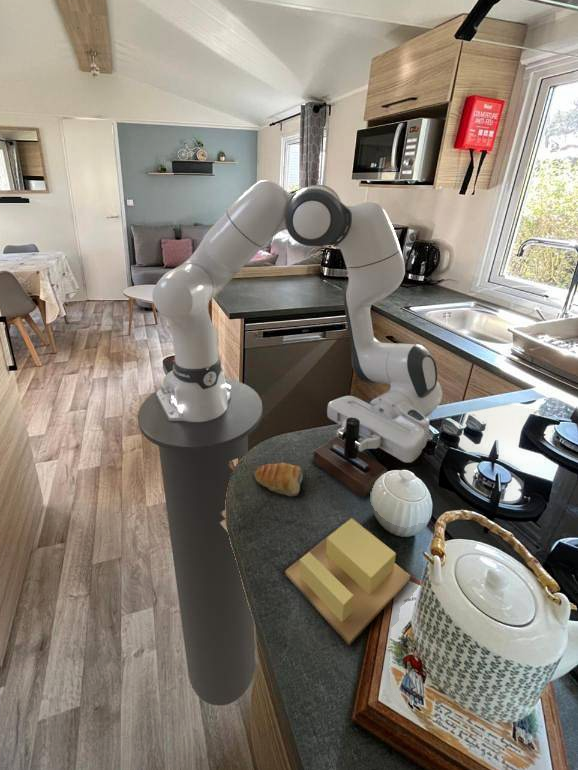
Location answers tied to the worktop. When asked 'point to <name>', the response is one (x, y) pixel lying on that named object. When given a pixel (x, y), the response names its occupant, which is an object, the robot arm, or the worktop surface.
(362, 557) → the butter
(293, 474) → the pastry
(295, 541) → the worktop surface
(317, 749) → the worktop surface
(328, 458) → the knife stand
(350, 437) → the knife
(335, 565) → the board
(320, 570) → the butter slice
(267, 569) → the worktop surface
